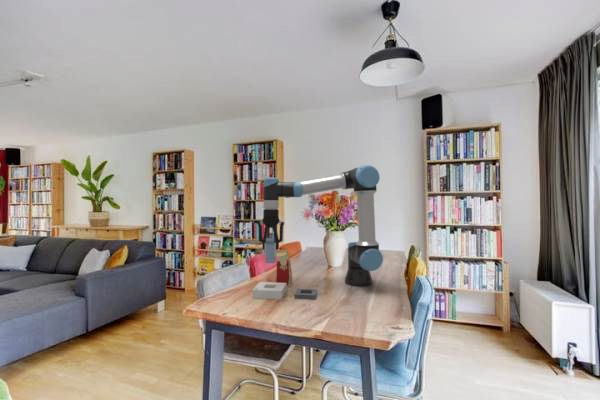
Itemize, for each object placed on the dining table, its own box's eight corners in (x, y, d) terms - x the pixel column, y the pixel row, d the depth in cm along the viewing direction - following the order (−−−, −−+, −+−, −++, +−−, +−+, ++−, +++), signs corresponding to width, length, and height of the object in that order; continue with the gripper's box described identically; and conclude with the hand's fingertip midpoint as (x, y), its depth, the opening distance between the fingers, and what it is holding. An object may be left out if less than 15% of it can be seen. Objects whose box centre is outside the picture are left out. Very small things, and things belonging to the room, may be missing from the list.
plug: (275, 261, 147) (275, 237, 147) (273, 263, 143) (274, 238, 143) (267, 261, 148) (267, 237, 148) (265, 263, 144) (265, 238, 144)
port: (286, 290, 152) (286, 282, 152) (281, 299, 138) (281, 290, 138) (260, 289, 153) (260, 281, 153) (252, 298, 139) (252, 289, 139)
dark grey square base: (317, 293, 148) (317, 289, 148) (315, 299, 138) (315, 295, 138) (297, 292, 149) (297, 288, 149) (294, 298, 139) (294, 294, 139)
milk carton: (292, 282, 168) (292, 247, 168) (290, 286, 159) (290, 249, 159) (276, 281, 169) (276, 246, 169) (273, 286, 160) (273, 249, 160)
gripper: (289, 208, 148) (288, 255, 148) (256, 208, 151) (255, 254, 150) (286, 209, 141) (286, 258, 141) (252, 208, 143) (251, 256, 143)
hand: (270, 255), depth 146 cm, fingers closed on plug, 4 cm apart
